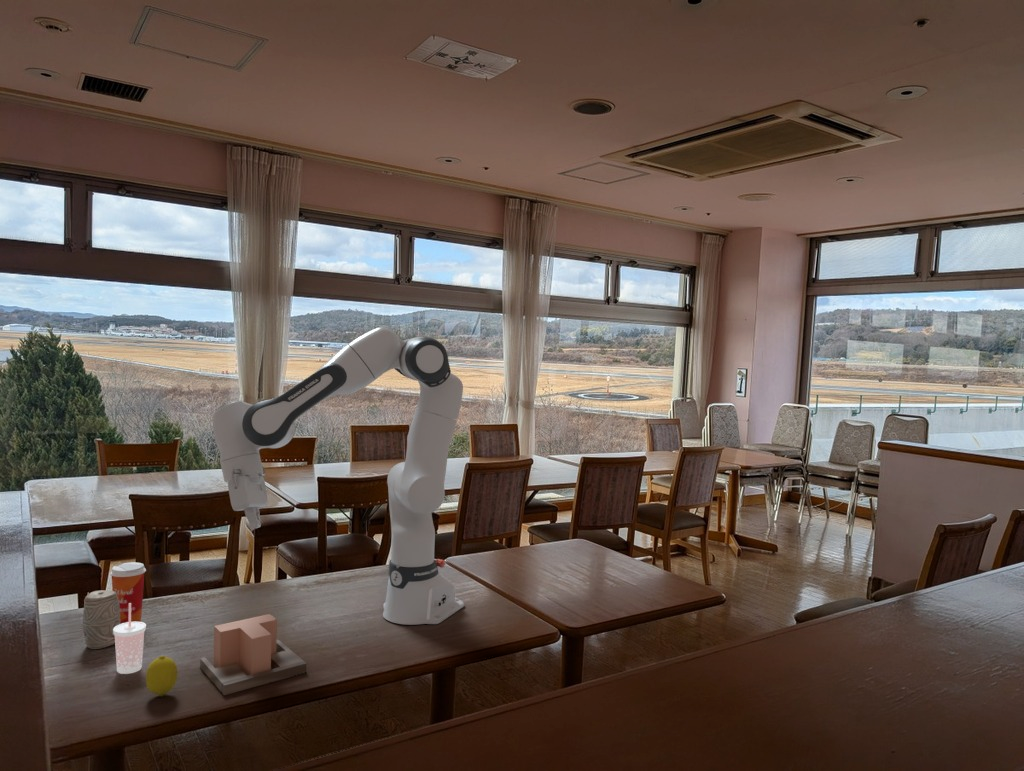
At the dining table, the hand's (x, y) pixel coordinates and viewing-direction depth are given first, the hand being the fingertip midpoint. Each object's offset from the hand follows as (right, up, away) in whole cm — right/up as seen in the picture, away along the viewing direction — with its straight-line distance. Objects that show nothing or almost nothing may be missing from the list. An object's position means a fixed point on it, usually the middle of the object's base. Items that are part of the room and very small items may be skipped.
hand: (255, 528), depth 168 cm
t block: (+4, -27, -15) cm, 31 cm away
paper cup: (-33, -25, +7) cm, 42 cm away
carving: (-33, -25, -6) cm, 42 cm away
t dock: (+4, -27, -14) cm, 31 cm away
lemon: (-9, -27, -27) cm, 40 cm away
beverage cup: (-21, -26, -16) cm, 37 cm away
